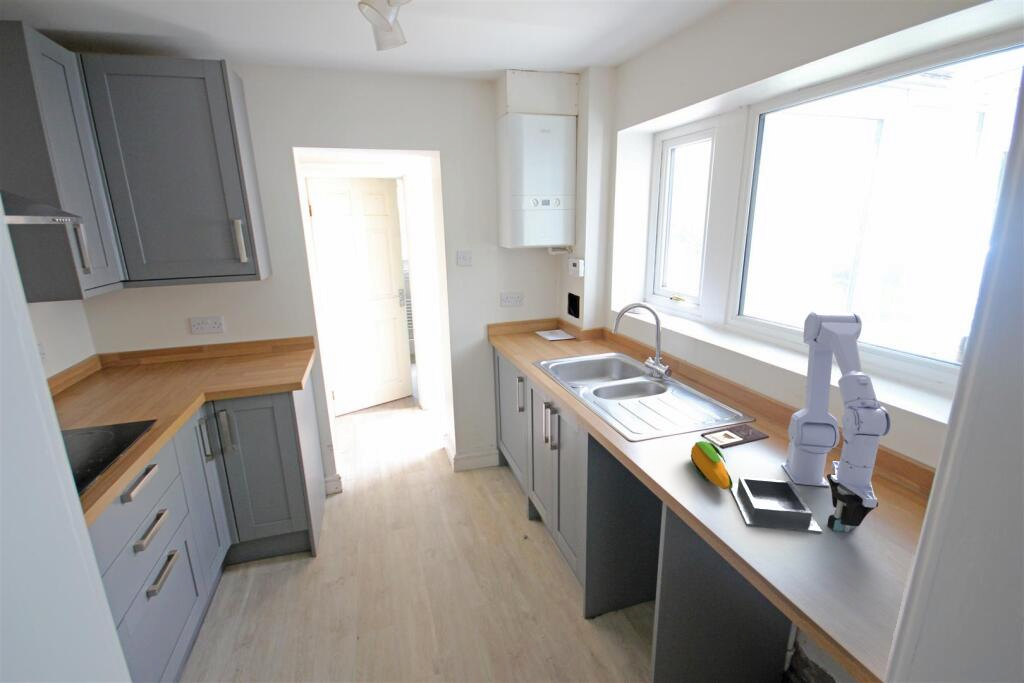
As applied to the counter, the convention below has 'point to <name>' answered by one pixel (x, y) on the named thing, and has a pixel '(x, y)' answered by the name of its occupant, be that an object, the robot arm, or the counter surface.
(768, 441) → the counter surface
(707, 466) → the corn
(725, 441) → the chocolate bar
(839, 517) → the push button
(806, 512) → the grey metal tray
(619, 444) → the counter surface
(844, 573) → the counter surface
